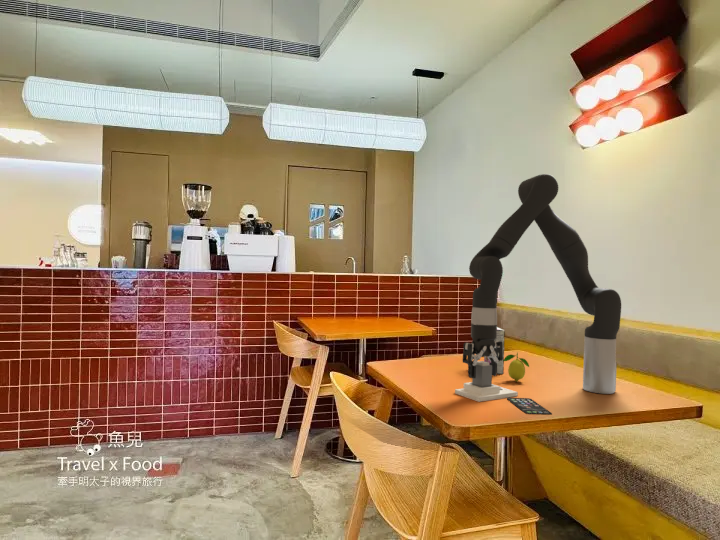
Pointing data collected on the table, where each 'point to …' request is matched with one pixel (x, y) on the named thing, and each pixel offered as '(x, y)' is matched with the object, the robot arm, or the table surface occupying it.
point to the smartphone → (529, 406)
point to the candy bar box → (501, 363)
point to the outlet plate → (485, 392)
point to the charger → (483, 374)
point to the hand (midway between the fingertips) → (482, 376)
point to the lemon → (516, 367)
